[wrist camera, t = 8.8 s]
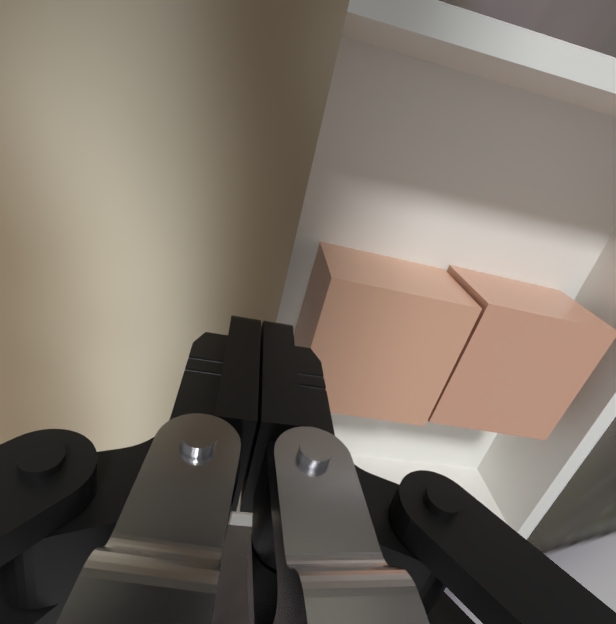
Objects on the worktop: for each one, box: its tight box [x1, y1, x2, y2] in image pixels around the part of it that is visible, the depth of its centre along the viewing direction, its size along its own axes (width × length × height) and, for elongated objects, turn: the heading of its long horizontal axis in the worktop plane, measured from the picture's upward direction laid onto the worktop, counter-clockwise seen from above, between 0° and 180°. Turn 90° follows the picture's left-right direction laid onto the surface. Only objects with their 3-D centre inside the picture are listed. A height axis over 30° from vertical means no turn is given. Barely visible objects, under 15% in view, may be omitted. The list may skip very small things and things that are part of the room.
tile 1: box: [294, 242, 482, 426], centre depth 14 cm, size 4×4×3 cm
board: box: [0, 0, 350, 525], centre depth 12 cm, size 14×16×4 cm
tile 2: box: [428, 265, 616, 440], centre depth 15 cm, size 4×4×3 cm
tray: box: [230, 0, 616, 540], centre depth 14 cm, size 12×16×4 cm
